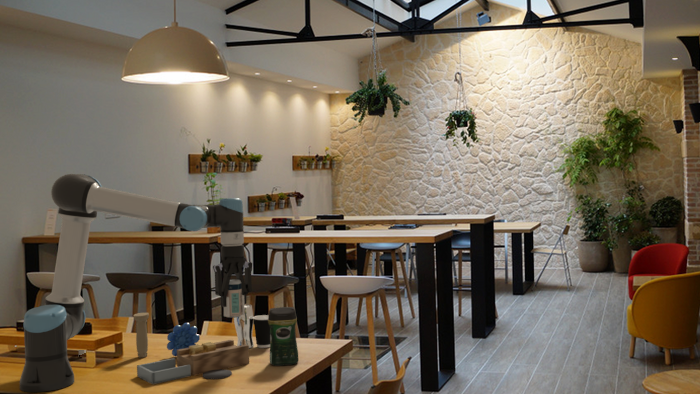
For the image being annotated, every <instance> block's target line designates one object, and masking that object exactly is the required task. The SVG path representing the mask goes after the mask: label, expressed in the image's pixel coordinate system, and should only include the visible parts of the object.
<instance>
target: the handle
mask: <svg viewBox="0 0 700 394" xmlns="http://www.w3.org/2000/svg"><path fill="white" fill-rule="evenodd" d="M149 318H150V314H149V312H138V313H135V314H133V320H135V321H136V331H135V332H136V336H135V339H136V340H135V342H136V344H135V345H136V353H137V357H138V358H142V359H143V358H146V357H148V350H149V349H148V348H149V339H148V329H147V328H148V327H147V320H148V319H149Z"/></svg>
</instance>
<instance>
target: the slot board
mask: <svg viewBox="0 0 700 394" xmlns="http://www.w3.org/2000/svg"><path fill="white" fill-rule="evenodd" d="M213 343H214V344H216V350H215V351H210V352H205V353H200V354H195V355H189V348H184V349H179V350H177V356H176V364H177V366H176V367H179V366H184V365H190V366H191V376H197V375H203V373H204V372H207V371H210V370H217V369H225V370H227V369H231V368H235V367H240V366H243V365H247V364H250V348H249V345H241V346H237V344H236V345H235V340H233V339H227V340H223V341H222V340H221V341H218V342H217V341H216V342H213ZM199 345H200V344H199ZM200 346H202V344H201V345H200Z"/></svg>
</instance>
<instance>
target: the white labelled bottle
mask: <svg viewBox="0 0 700 394" xmlns="http://www.w3.org/2000/svg"><path fill="white" fill-rule="evenodd" d="M227 297H229V307H230V317H229V318H232V319H234V318H235V317H240V316H241V315H242V288H241V281H240V280H239V279H237V278H236V279H235V278H234V279H230V283H229V288H228V293H227Z"/></svg>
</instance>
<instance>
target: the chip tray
mask: <svg viewBox="0 0 700 394" xmlns="http://www.w3.org/2000/svg"><path fill="white" fill-rule="evenodd" d="M176 364H177V361H176V358H174V357H173V358H168V359H162V360H158V361H154V362H148V363H143V364H138V365H136V372H137V373H136V375H137V377H138V378H140V379H141V380H143V381H145V382H147V383H149V384H151V385H157V384H162V383H165V382H170V381H174V380H179V379H184V378H188V377H191V376H192V374H191V366H190V365H184V366H179V367H177V366H176Z"/></svg>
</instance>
